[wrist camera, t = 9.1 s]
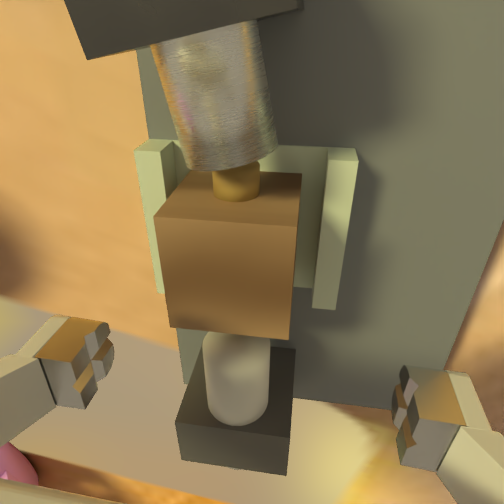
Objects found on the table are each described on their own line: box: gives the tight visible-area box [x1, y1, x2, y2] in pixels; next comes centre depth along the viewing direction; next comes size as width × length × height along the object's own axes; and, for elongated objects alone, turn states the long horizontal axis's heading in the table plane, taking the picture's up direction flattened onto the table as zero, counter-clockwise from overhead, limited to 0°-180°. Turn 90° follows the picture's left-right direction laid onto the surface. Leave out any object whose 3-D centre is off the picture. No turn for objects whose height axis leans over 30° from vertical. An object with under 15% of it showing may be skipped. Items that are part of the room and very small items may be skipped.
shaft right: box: [64, 0, 304, 172], centre depth 10 cm, size 7×5×5 cm
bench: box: [134, 0, 504, 476], centre depth 14 cm, size 23×14×6 cm, turn 0°
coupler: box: [153, 161, 302, 340], centre depth 14 cm, size 7×4×4 cm
